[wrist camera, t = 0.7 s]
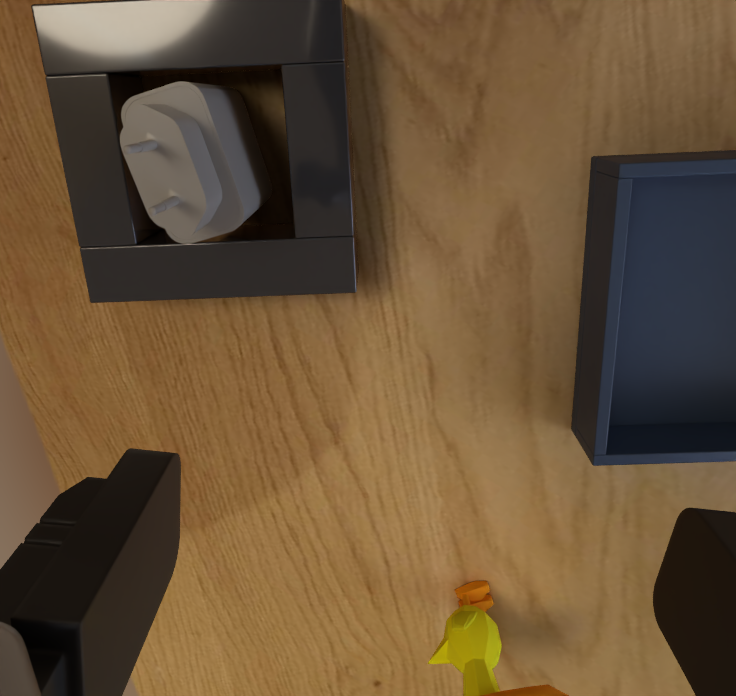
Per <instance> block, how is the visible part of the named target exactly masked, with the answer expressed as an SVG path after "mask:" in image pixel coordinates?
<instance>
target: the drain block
mask: <svg viewBox="0 0 736 696" xmlns="http://www.w3.org/2000/svg"><path fill="white" fill-rule="evenodd" d="M31 7H32V12H33V17H34V22H35V27H36V32H37V37H38V42H39V47H40V52H41V57H42V62H43V67H44V72H45V75H47V76H46V82H47V87H48V92H49V97H50V102H51V107H52V112H53V117H54V122H55V127H56V132H57V137H58V142H59V147H60V152H61V157H62V162H63V167H64V172H65V177H66V182H67V187H68V192H69V197H70V202H71V207H72V212H73V217H74V222H75V227H76V232H77V237H78V242H79V246H80V247H81V248H80V252H81V257H82V262H83V267H84V272H85V277H86V282H87V287H88V292H89V297H90V302H91V303H103V302H129V301H154V300H180V299H206V298H232V297H258V296H283V295H309V294H335V293H355V292H356V291H357V283H358V273H359V263H358V242H357V222H356V202H355V181H354V161H353V140H352V120H351V100H350V79H349V67H348V65H349V59H348V39H347V18H346V4H345V1H344V0H111V1H91V2H71V3H52V4H33V5H32V6H31ZM265 70H281V71H282V83H283V95H284V107H285V119H286V131H287V143H288V156H289V168H290V180H291V192H292V204H293V216H294V223H287V224H263V225H240V226H239V227H238V228H237V229H235V230H234V231H232V232H229V233H225V234H222V235H219V236H215V237H212V238H209V239H205V240H202V241H199V242H195V243H192V244H182V243H178V242H176V241H174V240H173V239H172V238H171V237H170V236H169V235H168V234H167V232H166V230H165V229H163V228H162V227H160V226H158V225H157V224H155V223H154V222H153V220H152V219H151V218H150V216H149V215H148V213H147V211H146V208H145V206H144V203H143V201H142V198H141V196H140V194H139V191H138V189H137V186H136V184H135V181H134V179H133V176H132V174H131V172H130V169H129V167H128V164H127V162H126V159H125V157H124V154H123V152H122V149H121V145H120V134H121V131H122V129H123V123H122V119H121V111H122V107H123V105H124V104H125V102H126V101H127V100H128V99H129V98H131V97H133V96H135V95H138V94H141V93H143V86H142V80H141V77H139V76H160V75H181V74H202V73H223V72H244V71H265Z"/></svg>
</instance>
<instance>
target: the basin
mask: <svg viewBox="0 0 736 696" xmlns="http://www.w3.org/2000/svg"><path fill="white" fill-rule="evenodd" d="M571 429H572V431H573V433H574V435H575V436H576V438H577V440H578V441H579V443H580V445H581V446H582V448H583V450H584V451H585V453H586V455H587V456H588V458H589V460H590V461H591V463H592V465H594V466H599V465H630V464H661V463H693V462H724V461H736V150H727V151H704V152H681V153H658V154H635V155H612V156H593V157H592V158H591V170H590V184H589V197H588V211H587V224H586V238H585V251H584V265H583V278H582V292H581V305H580V319H579V332H578V346H577V359H576V373H575V386H574V400H573V413H572V427H571Z"/></svg>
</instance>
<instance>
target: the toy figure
mask: <svg viewBox="0 0 736 696" xmlns="http://www.w3.org/2000/svg"><path fill="white" fill-rule="evenodd" d="M489 591H490V588H489V585H488V583H487V582H486V581H474V582H470V583H468V584H466V585H464V586H462V587H459V588H457V589H455V592H456V595H457V597H458V598H459V599H461V600H460V601H458V602H459V606H460V608H458V609H457V610H455V611H454V613H453V614H452V615H451V616H450V617H449V618H448V619H447V621H446V627H445V633H444V638H443V640H442V641H441V643H440V644H439V646H438V648H437V649H436V651H435V652H434V654H433V656H432V657H431V659H430V660H429V662H428V664H449V663H452V664H453V665H454V666H455V667H456V668H457V669H458V670H459V671H460V672H462V673H463V696H569V695H567V694H565V693H563V692H561V691H559V690H557V689H555V688H553V687H552V686H550V685H539V686H531V687H524V688H518V689H512V690H506V691H500V690H499V687H498V684H497V682H496V679H495V676H494V673H493V671H492V670H493V669H494V667H495V666H496V665H497V663H498V661H499V657H500V652H501V647H502V645H501V640H500V636H499V632H498V627H497V624H496V623H495V622H494V621H493V620H492V619H491V618H490V617H489V616H488V615H487V614H486V613H485V612H486V611H487V610H488V609H489V608H490V607H491V606H492V605H493V604H494V603H493V600H492V597H491V595H486V594H487V593H488V592H489Z"/></svg>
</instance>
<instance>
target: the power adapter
mask: <svg viewBox="0 0 736 696" xmlns="http://www.w3.org/2000/svg"><path fill="white" fill-rule="evenodd" d="M121 119H122V123H123V129H122V131H121V134H120V145H121V149H122V152H123V154H124V157H125V159H126V162H127V164H128V167H129V169H130V172H131V174H132V176H133V179H134V181H135V184H136V186H137V189H138V191H139V194H140V196H141V198H142V201H143V203H144V206H145V208H146V211H147V213H148V215H149V216H150V218H151V219H152V220H153V222H154V223H155V224H157V225H158V226H160V227H162V228H165V230H166V232H167V234H168V235H169V236H170V237H171V238H172V239H173V240H174V241H176V242H178V243H182V244H192V243H195V242H199V241H202V240H205V239H209V238H212V237H215V236H219V235H222V234H225V233H229V232H232V231H234V230H235V229H237V228H238V227H239V226H240V225H241V224H242V223H243V222H244V221H246V220H247V219H248V218H249V217H250V216H251V215H252V214H253V213H254V212H255V211H256V210H258V209H259V208H260V207H261V206H262V205H263V204H264V203H265V202H266V201H267V200H268V199H269V198H270V197H271V194H272V184H271V180H270V177H269V174H268V171H267V168H266V166H265V163H264V160H263V157H262V154H261V151H260V148H259V145H258V142H257V139H256V136H255V133H254V130H253V127H252V124H251V121H250V118H249V115H248V112H247V109H246V106H245V104H244V101H243V98H242V96H241V95H240V93H239V92H238V91H237V90H236V89H234V88H232V87H229V86H219V85H210V84H201V83H192V82H183V81H179V82H174V83H171V84H168V85H165V86H162V87H159V88H156V89H153V90H150V91H147V92H144V93H141V94H138V95H135V96H133V97H131V98H129V99H128V100H127V101H126V102H125V104H124V105H123V107H122V111H121Z"/></svg>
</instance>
